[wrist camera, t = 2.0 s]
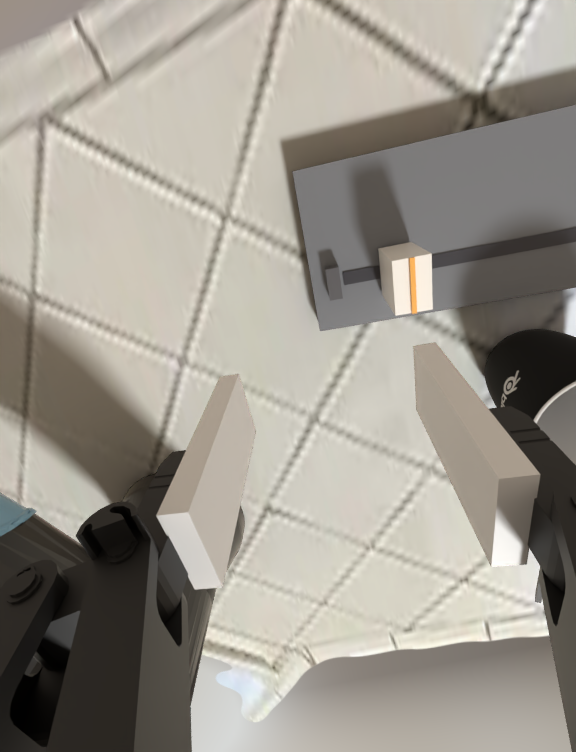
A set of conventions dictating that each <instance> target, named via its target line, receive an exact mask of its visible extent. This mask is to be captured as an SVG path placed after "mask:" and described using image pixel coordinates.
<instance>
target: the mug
mask: <svg viewBox="0 0 576 752" xmlns="http://www.w3.org/2000/svg"><path fill="white" fill-rule="evenodd" d="M485 380H486V384H487V387H488V390H489V393H490V395H491V397H492V399H493V401H494V403H495V405H496V407H497V408H499V407H507V406H512V407H514V408H515V409H517V410H519V411H521V412H523V413H525V414H527V415H529V416H530V418H531V419H532V420H533V421H534V422H535V423H536V424H537V425H538V426H539V427H540V430H543V431H544V432H545V433H546V434H547V435H548V437H549V438H550V441H553V442H554V443H555V444H556V445H557V446H558V447H559V448H560V449H561V450H562V451H563V452H564V453H565V454H566V456H567V457H568V458H569V459H570V460H571V461H572V462H573V463H574V464H575V465H576V337H574V336H571V335H568V334H564V333H560V332H556V331H551V330H544V329H534V330H525V331H521V332H518V333H515V334H513V335H511V336H509V337H507V338H506V339H504V340H503V341H501V342H500V343H499V344H498V345H497V346H496V347H495V348H494V349H493V351H492V352H491V354H490V355H489V357H488V360H487V362H486V367H485Z"/></svg>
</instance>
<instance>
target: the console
mask: <svg viewBox="0 0 576 752" xmlns="http://www.w3.org/2000/svg"><path fill="white" fill-rule="evenodd" d="M292 172H293V177H294V183H295V189H296V195H297V201H298V206H299V212H300V218H301V224H302V230H303V235H304V241H305V247H306V253H307V259H308V264H309V270H310V276H311V282H312V288H313V293H314V299H315V305H316V311H317V317H318V322H319V328H320V331H325V330H330V329H336V328H342V327H348V326H354V325H360V324H365V323H371V322H377V321H383V320H389V319H394V318H400V317H406V316H412V315H418V314H424V313H429V312H435V311H441V310H447V309H453V308H459V307H464V306H470V305H476V304H482V303H488V302H493V301H499V300H505V299H511V298H517V297H523V296H528V295H534V294H540V293H546V292H552V291H558V290H563V289H569V288H575V287H576V105H572V106H568V107H564V108H560V109H556V110H551V111H547V112H543V113H539V114H534V115H530V116H526V117H522V118H517V119H513V120H509V121H505V122H500V123H496V124H492V125H488V126H483V127H479V128H475V129H471V130H466V131H462V132H458V133H454V134H449V135H445V136H441V137H437V138H432V139H428V140H424V141H420V142H415V143H411V144H407V145H403V146H398V147H394V148H390V149H386V150H381V151H377V152H373V153H369V154H364V155H360V156H356V157H352V158H347V159H343V160H339V161H335V162H330V163H326V164H322V165H318V166H313V167H309V168H305V169H301V170H296V171H292ZM409 242H412V243H414V244H416V245H418V246H419V247H421V248H423V249H425V250H426V251H428V252H430V253H432V297H433V309H432V310H427V311H421V312H417V313H416V314H412V313H409V314H403V315H398V316H395V314H394V313H393V311H392V310H391V308H390V307H389V305H388V303H387V302H386V300H385V299H384V297H383V296H382V287H381V275H380V263H379V252H378V248H383V247H388V246H393V245H398V244H403V243H409Z"/></svg>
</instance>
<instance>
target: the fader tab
mask: <svg viewBox="0 0 576 752" xmlns="http://www.w3.org/2000/svg"><path fill="white" fill-rule="evenodd" d="M378 252H379V263H380V275H381V287H382V296H383V297H384V299H385V300H386V302H387V303H388V305H389V307H390V308H391V310H392V311H393V313H394V314H395V316H398V315H403V314H409V313H412V314H416V313H417V312H421V311H427V310H432V309H433V297H432V253H430V252H428V251H426V250H425V249H423V248H421V247H419V246H418V245H416V244H414V243H412V242H409V243H403V244H398V245H393V246H388V247H383V248H378Z"/></svg>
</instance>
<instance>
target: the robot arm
mask: <svg viewBox="0 0 576 752" xmlns="http://www.w3.org/2000/svg"><path fill="white" fill-rule="evenodd" d="M413 348H414V370H415V391H416V410H417V412H418V414H419V416H420V418H421V420H422V422H423V424H424V427H425V429H426V431H427V433H428V435H429V437H430V439H431V441H432V443H433V445H434V448H435V450H436V452H437V454H438V456H439V458H440V460H441V462H442V464H443V466H444V469H445V471H446V473H447V475H448V477H449V479H450V481H451V483H452V485H453V487H454V490H455V492H456V494H457V496H458V498H459V500H460V502H461V504H462V506H463V508H464V511H465V513H466V515H467V517H468V519H469V521H470V523H471V525H472V527H473V529H474V532H475V534H476V536H477V538H478V540H479V542H480V544H481V546H482V548H483V550H484V553H485V555H486V557H487V559H488V561H489V563H490V565H491V567H497V566H511V565H524V564H527V559H528V552H529V548H530V550H531V551H532V553H533V555H534V556H535V558H536V560H537V561H538V563H539V565H540V571H539V577H538V582H537V588H536V595H535V602H539V603H541V601H542V599H543V605H544V610H545V615H546V620H547V625H548V630H549V635H550V641H551V646H552V651H553V656H554V661H555V666H556V671H557V677H558V682H559V687H560V692H561V697H562V702H563V707H564V713H565V718H566V723H567V728H568V733H569V738H570V743H571V749H572V752H576V465H575V464H574V463H573V462H572V461H571V460H570V459H569V458H568V457H567V456H566V454H565V453H564V452H563V451H562V450H561V449H560V448H559V447H558V446H557V445H556V444H555V443H554V442H553V441H550V438H549V437H548V435H547V434H546V433H545V432H544V431H543V430H540V427H539V426H538V425H537V424H536V423H535V422H534V421H533V420H532V419H531V418H530V416H529V415H527V414H525V413H523V412H521V411H519V410H517V409H515V408H514V407H512V406H507V407H499V408H492V409H488V408H487V407H486V405H485V404H484V403H483V402H482V400H481V399H480V398H479V397H478V395H477V394H476V393H475V391H474V390H473V389H472V388H471V386H470V385H469V384H468V383H467V381H466V380H465V379H464V378H463V376H462V375H461V374H460V373H459V371H458V370H457V369H456V368H455V366H454V365H453V364H452V363H451V361H450V360H449V359H448V358H447V356H446V355H445V354H444V353H443V351H442V350H441V349H440V348H439V346H438V345H437V344H436V343H429V344H423V345H416V346H413ZM255 434H256V430H255V426H254V423H253V420H252V416H251V413H250V409H249V406H248V403H247V399H246V396H245V393H244V389H243V386H242V383H241V379H240V376H239V374H235V375H229V376H223V377H220V378H219V380H218V382H217V384H216V386H215V389H214V391H213V393H212V395H211V397H210V400H209V402H208V404H207V406H206V408H205V410H204V413H203V415H202V417H201V419H200V421H199V424H198V426H197V428H196V430H195V432H194V434H193V437H192V439H191V441H190V443H189V445H188V447H187V450H184V451H177V452H172V453H171V454H170V455H169V456H168V457H167V458H166V459H165V460H164V461H163V462H162V463H161V465H160V467H159V469H158V471H157V472H156V474H154V475H150V476H147V477H145V478H143V479H141V480H139V481H138V482H136V483H135V484H134V485H133V486H132V487H131V488H130V489H129V490H128V492H127V494H126V495H125V497H124V499H123V500H122V502H118V503H113V504H110V505H108V506H106V507H104V508H102V509H100V510H98V511H97V512H96V513H94V514H93V515H91V516H90V517H89V518H88V519H87V520H86V521H85V522H84V523H83V524H82V526H81V527H80V529H79V531H78V532H77V534H76V537H77V539H78V540H79V542H80V543H81V544H80V543H78V542H77V541H75V540H74V539H72V538H71V537H69V536H68V535H66V534H65V533H63V532H62V531H60V530H59V529H57V528H56V527H54V526H53V525H51V524H50V523H48V522H47V521H45V520H44V519H42V518H41V517H39V516H38V515H36V514H35V513H36V510H34V509H33V508H25V507H24V506H22V505H20V504H19V503H17V502H15V501H14V500H12V499H10V498H8V497H7V496H5V495H3V494H2V493H0V752H192V747H191V708H190V706H191V701H192V696H193V692H194V687H195V683H196V678H197V673H198V669H199V664H200V660H201V655H202V650H203V646H204V641H205V636H206V632H207V627H208V623H209V618H210V613H211V609H212V604H213V600H214V596H215V592H216V589H217V588H222V587H223V584H224V580H225V575H226V572H227V570H228V568H229V566H230V565H231V563H232V561H233V559H234V557H235V556H236V554H237V553H238V551H239V549H240V546H241V543H242V538H243V533H244V527H245V520H244V515H243V512H242V509H241V507H240V505H241V500H242V495H243V490H244V486H245V481H246V476H247V472H248V467H249V462H250V457H251V453H252V448H253V443H254V439H255Z"/></svg>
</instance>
